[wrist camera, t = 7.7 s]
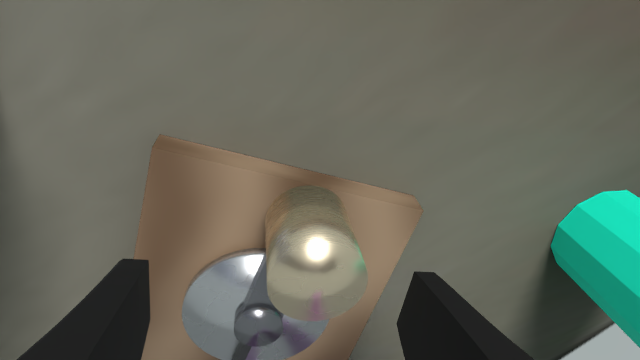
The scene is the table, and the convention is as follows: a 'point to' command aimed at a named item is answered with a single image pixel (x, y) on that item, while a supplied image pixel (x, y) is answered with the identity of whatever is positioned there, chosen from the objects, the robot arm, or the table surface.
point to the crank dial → (279, 282)
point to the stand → (249, 235)
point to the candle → (605, 254)
